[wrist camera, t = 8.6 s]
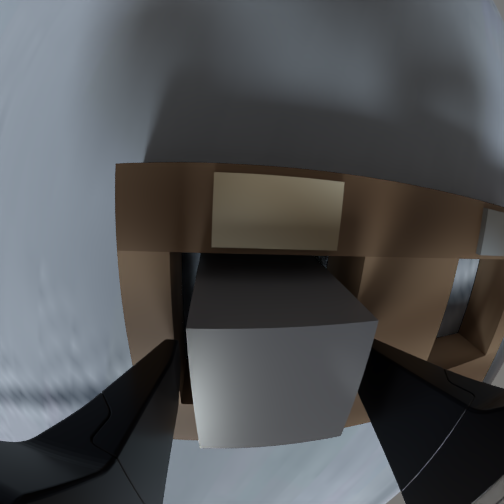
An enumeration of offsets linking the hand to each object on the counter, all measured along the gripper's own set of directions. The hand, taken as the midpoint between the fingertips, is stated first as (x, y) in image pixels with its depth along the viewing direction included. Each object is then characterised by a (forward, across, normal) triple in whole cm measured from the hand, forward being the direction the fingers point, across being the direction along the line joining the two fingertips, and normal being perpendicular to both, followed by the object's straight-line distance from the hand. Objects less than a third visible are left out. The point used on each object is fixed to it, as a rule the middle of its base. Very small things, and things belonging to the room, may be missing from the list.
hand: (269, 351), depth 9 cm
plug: (+4, 0, 0) cm, 4 cm away
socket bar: (+4, -5, 0) cm, 6 cm away
